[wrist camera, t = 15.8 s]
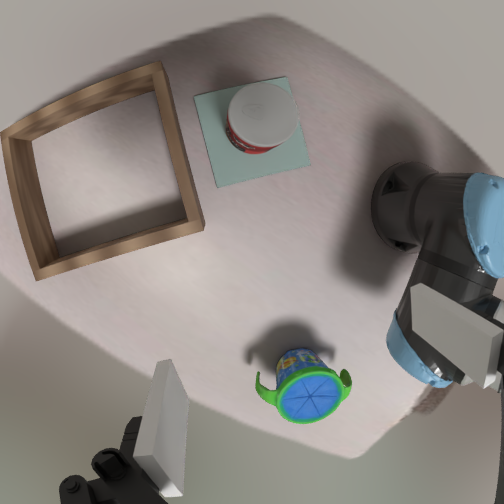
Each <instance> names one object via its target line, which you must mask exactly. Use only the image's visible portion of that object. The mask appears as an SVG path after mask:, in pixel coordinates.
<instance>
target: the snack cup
mask: <svg viewBox="0 0 504 504" xmlns="http://www.w3.org/2000/svg"><path fill="white" fill-rule="evenodd" d="M259 376H260V372H257V376H256V391H257V393H258V394H259V395H260V397H261V398H262V399H263V400H265V401H266V402H268V403H269V404H272V405H274V406H276V408H277V409H278V412H279V413H280V415H281V416H282V417H283V418H284V419H286V420H288V421H290V422H293V423H297V424H308V423H313V422H317V421H319V420H322V419H324V418H325V417H327V416H329V415H330V414H331V413H333V412H334V411H335V410H336V409H337V407H338V406H339V405H340V403H341V402H342V401H343V400H345V399H346V398H347V396H348V395H349V393H350V390H351V386H352V380H351V377H350V375H349V373H348V371H347V370H345V369H343V370H342V371H341V373H340V377H339V376H338V375H337V374H336V372H335V371H334V370H332V369H330V368H328V367H327V366H326V365H325V364H324V363H323V361H322V360H321V359H320V358H319V357H318V356H317V355H316V354H315V353H313V352H312V351H311V350H307V349H303V348H301V349H295V350H291V351H287V353H286V354H285V355H284V356H282V357H281V359H280V360H279V362H278V364H277V367H276V381H277V386H276V390H269V389H267V388H266V387H264V386H262V385H261V384H260V382H259ZM343 384H344V385H345V386H346V387H345V386H343Z"/></svg>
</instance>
